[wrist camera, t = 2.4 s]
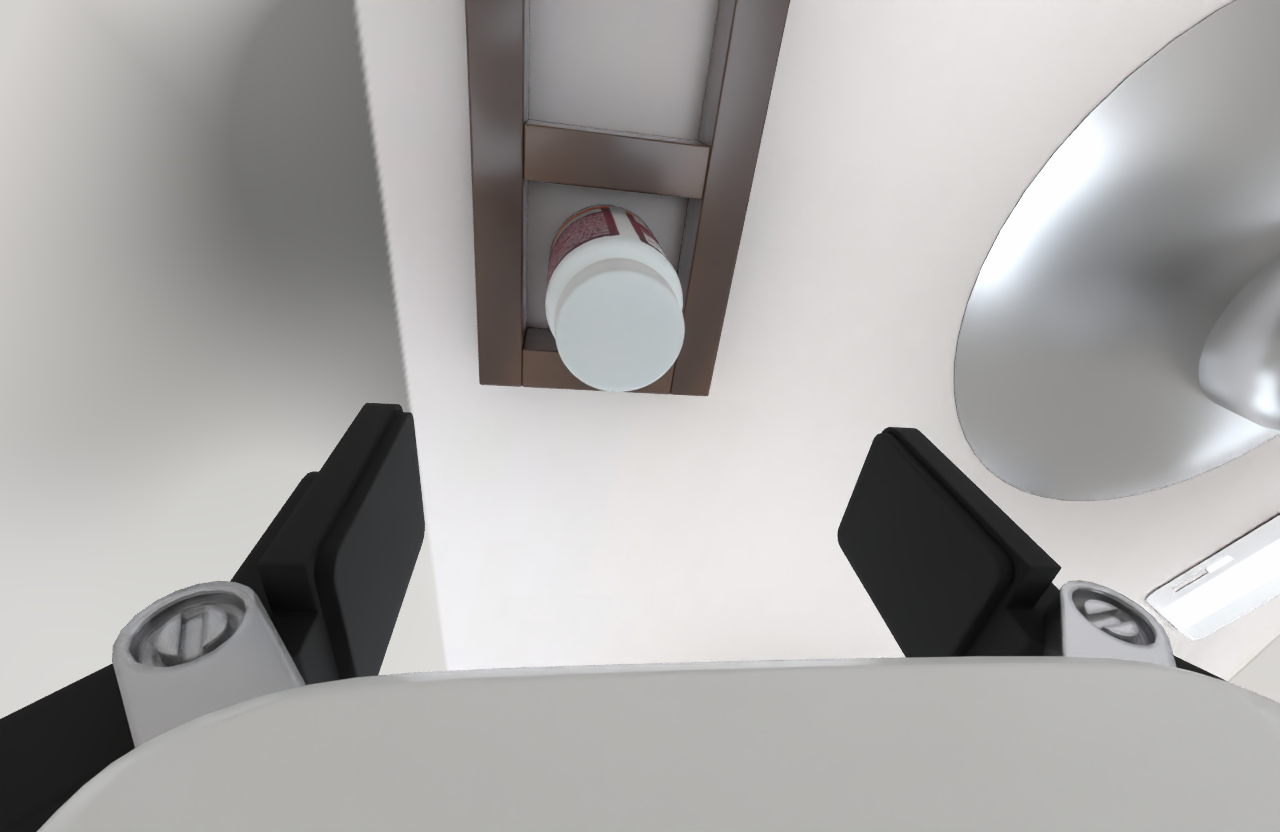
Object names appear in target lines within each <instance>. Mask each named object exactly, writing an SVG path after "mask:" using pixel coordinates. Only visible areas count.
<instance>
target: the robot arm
mask: <svg viewBox="0 0 1280 832" xmlns="http://www.w3.org/2000/svg"><path fill="white" fill-rule="evenodd" d="M424 531H425V521H424V512H423V502H422V493H421V484H420V474H419V465H418V456H417V447H416V437H415V428H414V420H413V415H412V413H407V412H403V410H402V407H401V406H400V405H399V404H380V403H366V404H365V405H364V406H363V408H362V409H361V410H360V412H359V413H358V415H357V416H356V418H355V419H354V421H353V422H352V424H351V425H350V427H349V428H348V430H347V431H346V433H345V434H344V436H343V437H342V439H341V440H340V442H339V443H338V445H337V446H336V448H335V449H334V450H333V452H332V453H331V455H330V456H329V458H328V460H327V461H326V462H325V464H324V465H323V467H322V468H321V470H320V471H319V472H310V473H308V474H307V475H306V476H305V477H304V478H303V479H302V480H301V482H300V483H299V484H298V486H297V487H296V489H295V490H294V492H293V493H292V495H291V496H290V497H289V499H288V500H287V501H286V503H285V504H284V506H283V507H282V509H281V510H280V511H279V513H278V514H277V516H276V517H275V518H274V520H273V521H272V523H271V524H270V526H269V527H268V529H267V530H266V531H265V533H264V534H263V535H262V537H261V538H260V540H259V541H258V543H257V544H256V545H255V547H254V548H253V550H252V551H251V553H250V554H249V555H248V557H247V558H246V560H245V561H244V562H243V564H242V565H241V567H240V568H239V570H238V571H237V572H236V574H235V575H234V577H233V579H231V581H230V582H226V581H216V582H209V583H202V584H197V585H194V586H190V587H187V588H184V589H181V590H178V591H175V592H173V593H171V594H169V595H167V596H165V597H163V598H161V599H159V600H157V601H155V602H153V603H152V604H151V605H149V606H148V607H147V608H145V609H144V610H142V611H141V612H139V613H138V614H137V615H135V616H134V617H133V619H132V620H131V621H130V622H129V623H128V624H127V625H126V626H125V627H124V628H123V629H122V630H121V632H120V634H119V636H118V637H117V639H116V641H115V643H114V645H113V654H112V662H113V664H111V665H109V666H107V667H105V668H103V669H101V670H98V671H96V672H95V673H92V674H90V675H89V676H86V677H84V678H83V679H80V680H78V681H76V682H74V683H72V684H70V685H68V686H66V687H64V688H62V689H60V690H58V691H56V692H54V693H52V694H50V695H48V696H46V697H44V698H42V699H40V700H38V701H36V702H34V703H32V704H30V705H28V706H26V707H24V708H22V709H20V710H18V711H16V712H14V713H12V714H10V715H8V716H6V717H4V718H2V719H0V832H1280V703H1278V702H1276V701H1274V700H1271V699H1269V698H1267V697H1265V696H1262V695H1260V694H1258V693H1256V692H1253V691H1251V690H1248V689H1246V688H1243V687H1241V686H1238V685H1235V684H1233V683H1230V682H1227V681H1225V680H1223V679H1221V678H1219V677H1217V676H1215V675H1213V674H1211V673H1209V672H1207V671H1205V670H1203V669H1201V668H1198V667H1196V666H1194V665H1192V664H1190V663H1188V662H1186V661H1184V660H1182V659H1180V658H1178V657H1176V656H1174V655H1173V652H1172V648H1171V645H1170V641H1169V638H1168V636H1167V634H1166V632H1165V630H1164V628H1163V627H1162V626H1161V625H1160V624H1159V623H1158V621H1157V620H1156V619H1155V618H1154V617H1153V616H1152V615H1151V614H1149V613H1148V612H1147V611H1146V610H1145V609H1143V608H1142V607H1141V606H1140V605H1138V604H1136V603H1135V602H1133V601H1132V600H1130V599H1129V598H1127V597H1126V596H1124V595H1122V594H1120V593H1118V592H1116V591H1114V590H1111V589H1109V588H1107V587H1104V586H1101V585H1098V584H1095V583H1091V582H1085V581H1069V582H1068V583H1066V584H1064V585H1063V586H1062V587H1061V589H1060V590H1059V589H1058V588H1057V587H1056V586H1055V585H1054V584H1053V583H1052V581H1053V579H1054V578H1055V576H1056V575H1057V574H1058V572H1059V571H1060V569H1061V567H1060V566H1059V565H1058V564H1057V563H1056V562H1055V561H1054V560H1053V559H1052V558H1051V557H1050V556H1049V555H1048V554H1047V553H1046V552H1045V551H1044V550H1043V549H1042V548H1041V547H1039V546H1038V545H1037V544H1036V543H1035V542H1034V541H1033V540H1032V539H1031V538H1030V537H1029V536H1028V535H1027V534H1026V533H1025V532H1024V531H1023V530H1022V529H1021V528H1020V527H1019V526H1018V525H1017V524H1016V523H1015V522H1014V521H1013V520H1011V519H1010V518H1009V517H1008V516H1007V515H1006V514H1005V513H1004V512H1003V511H1002V510H1001V509H1000V508H999V507H998V506H997V505H996V504H995V503H994V502H993V501H992V500H991V499H990V498H989V497H988V496H987V495H986V494H984V493H983V492H982V491H981V490H980V489H979V488H978V487H977V486H976V485H975V484H974V483H973V482H972V481H971V480H970V479H969V478H968V477H967V476H966V475H965V474H964V473H963V472H962V471H961V470H960V469H959V468H958V467H956V466H955V465H954V464H953V463H952V462H951V461H950V460H949V459H948V458H947V457H946V456H945V455H944V454H943V453H942V452H941V451H940V450H939V449H938V448H937V447H936V446H935V445H934V444H933V443H932V442H931V441H930V440H928V439H927V438H926V437H925V436H924V435H923V434H922V433H921V432H920V431H919V430H917V429H915V428H898V427H888V428H886V429H884V430H883V431H882V433H880V434H877V435H876V436H875V438H874V440H873V442H872V445H871V447H870V450H869V452H868V455H867V457H866V460H865V463H864V465H863V468H862V470H861V473H860V475H859V478H858V480H857V483H856V485H855V488H854V490H853V493H852V496H851V498H850V501H849V503H848V506H847V508H846V511H845V513H844V516H843V518H842V521H841V523H840V526H839V529H838V542H839V545H840V547H841V549H842V551H843V552H844V554H845V556H846V557H847V559H848V561H849V562H850V564H851V566H852V567H853V569H854V571H855V573H856V574H857V576H858V578H859V579H860V581H861V583H862V584H863V586H864V588H865V589H866V591H867V593H868V594H869V596H870V598H871V599H872V601H873V603H874V604H875V606H876V608H877V610H878V611H879V613H880V615H881V616H882V618H883V620H884V621H885V623H886V625H887V626H888V628H889V630H890V631H891V633H892V635H893V636H894V638H895V640H896V641H897V643H898V645H899V647H900V648H901V650H902V652H903V653H904V655H905V657H906V658H858V659H814V660H771V661H731V662H691V663H655V664H622V665H588V666H555V667H522V668H500V669H478V670H457V671H435V672H414V673H402V674H391V675H379V676H378V674H379V671H380V668H381V665H382V662H383V659H384V656H385V653H386V650H387V647H388V644H389V641H390V638H391V635H392V632H393V629H394V626H395V623H396V620H397V617H398V614H399V611H400V608H401V605H402V602H403V599H404V596H405V593H406V590H407V587H408V584H409V581H410V578H411V575H412V572H413V569H414V566H415V563H416V560H417V557H418V554H419V552H420V549H421V546H422V542H423V538H424Z"/></svg>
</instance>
